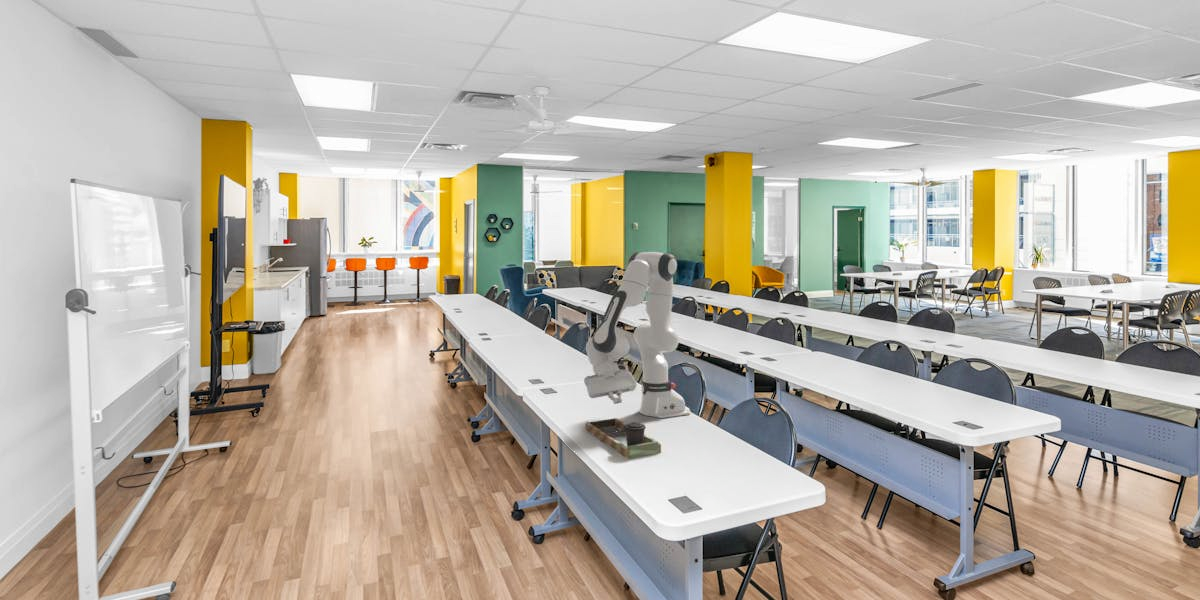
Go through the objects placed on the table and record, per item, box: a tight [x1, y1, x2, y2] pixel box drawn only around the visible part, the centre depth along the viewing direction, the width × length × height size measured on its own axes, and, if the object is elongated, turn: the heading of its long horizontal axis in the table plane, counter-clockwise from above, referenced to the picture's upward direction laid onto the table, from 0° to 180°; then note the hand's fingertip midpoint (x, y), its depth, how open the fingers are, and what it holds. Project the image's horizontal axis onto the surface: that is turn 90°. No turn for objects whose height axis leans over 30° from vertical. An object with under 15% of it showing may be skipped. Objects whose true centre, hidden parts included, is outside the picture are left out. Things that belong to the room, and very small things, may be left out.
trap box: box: [585, 417, 662, 459], centre depth 244 cm, size 36×14×4 cm, turn 25°
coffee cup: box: [624, 421, 646, 447], centre depth 232 cm, size 8×8×10 cm
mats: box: [599, 426, 626, 439], centre depth 253 cm, size 11×10×1 cm
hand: (618, 402), depth 246 cm, fingers closed
